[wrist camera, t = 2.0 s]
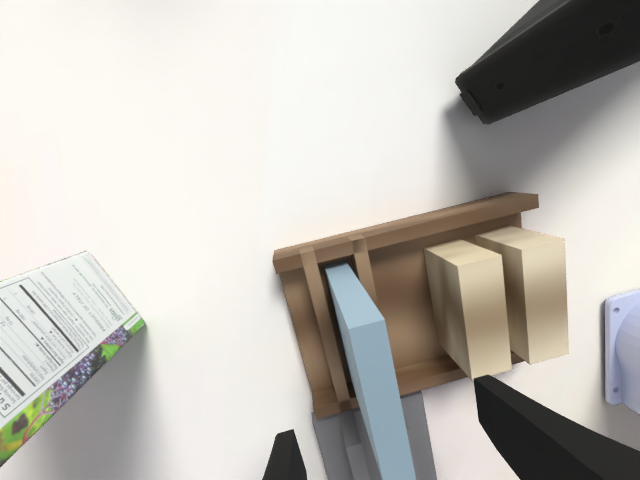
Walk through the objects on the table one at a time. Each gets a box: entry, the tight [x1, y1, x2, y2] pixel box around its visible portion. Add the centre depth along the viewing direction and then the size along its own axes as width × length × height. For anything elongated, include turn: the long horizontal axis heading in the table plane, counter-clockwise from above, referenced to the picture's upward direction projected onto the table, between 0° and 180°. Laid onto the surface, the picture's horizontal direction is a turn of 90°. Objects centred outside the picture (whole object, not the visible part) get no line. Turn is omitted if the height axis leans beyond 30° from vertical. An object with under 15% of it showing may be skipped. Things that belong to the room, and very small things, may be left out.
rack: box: [273, 192, 539, 419], centre depth 20 cm, size 11×16×2 cm
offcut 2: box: [475, 226, 569, 365], centre depth 18 cm, size 7×2×4 cm, turn 13°
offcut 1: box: [424, 239, 512, 381], centre depth 18 cm, size 7×2×4 cm, turn 13°
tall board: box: [324, 260, 416, 480], centre depth 16 cm, size 8×1×8 cm, turn 13°
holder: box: [312, 390, 437, 480], centre depth 22 cm, size 10×8×4 cm
